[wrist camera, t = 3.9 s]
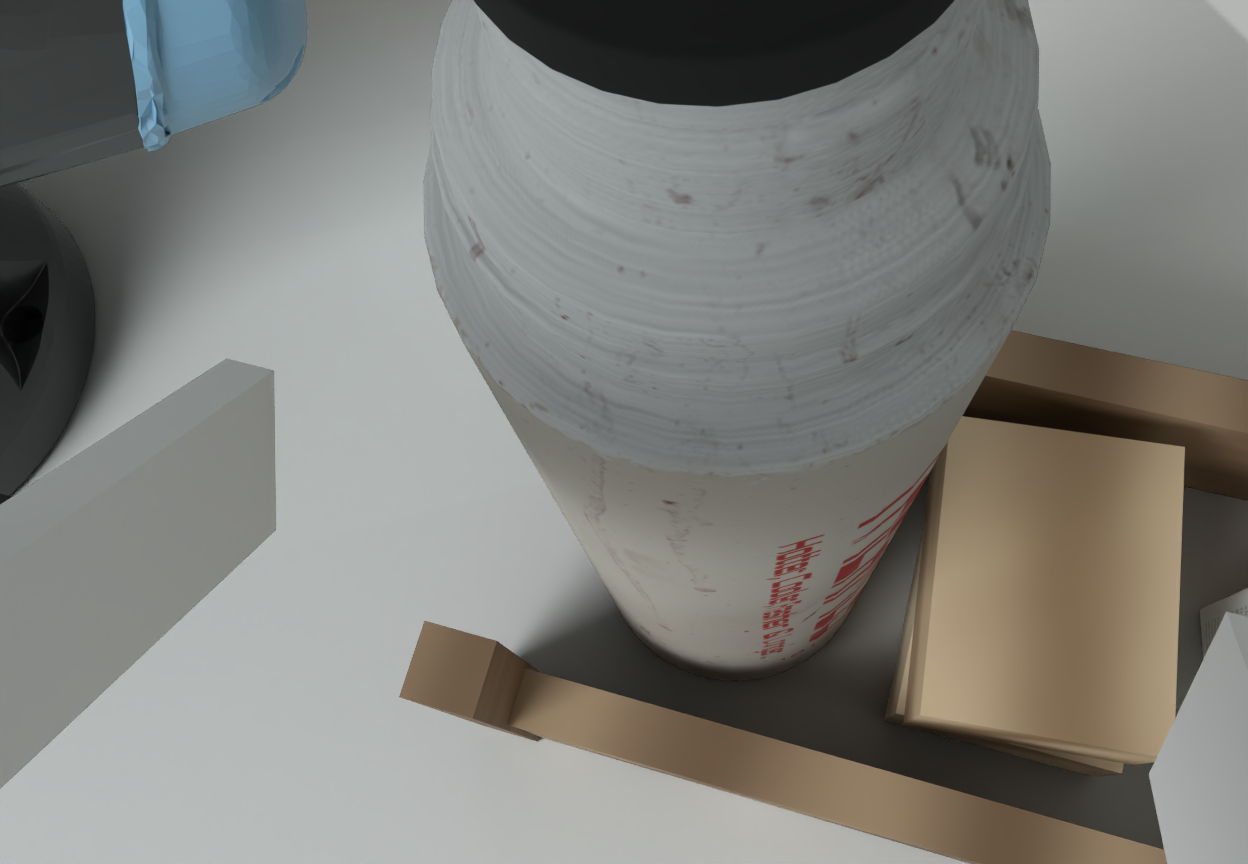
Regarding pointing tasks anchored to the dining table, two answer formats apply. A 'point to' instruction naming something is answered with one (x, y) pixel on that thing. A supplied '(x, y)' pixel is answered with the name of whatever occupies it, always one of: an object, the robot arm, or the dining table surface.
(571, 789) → the dining table surface
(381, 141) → the dining table surface
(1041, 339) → the rack
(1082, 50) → the dining table surface
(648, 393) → the thermos bottle
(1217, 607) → the small box
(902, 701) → the lower offcut
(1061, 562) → the upper offcut
